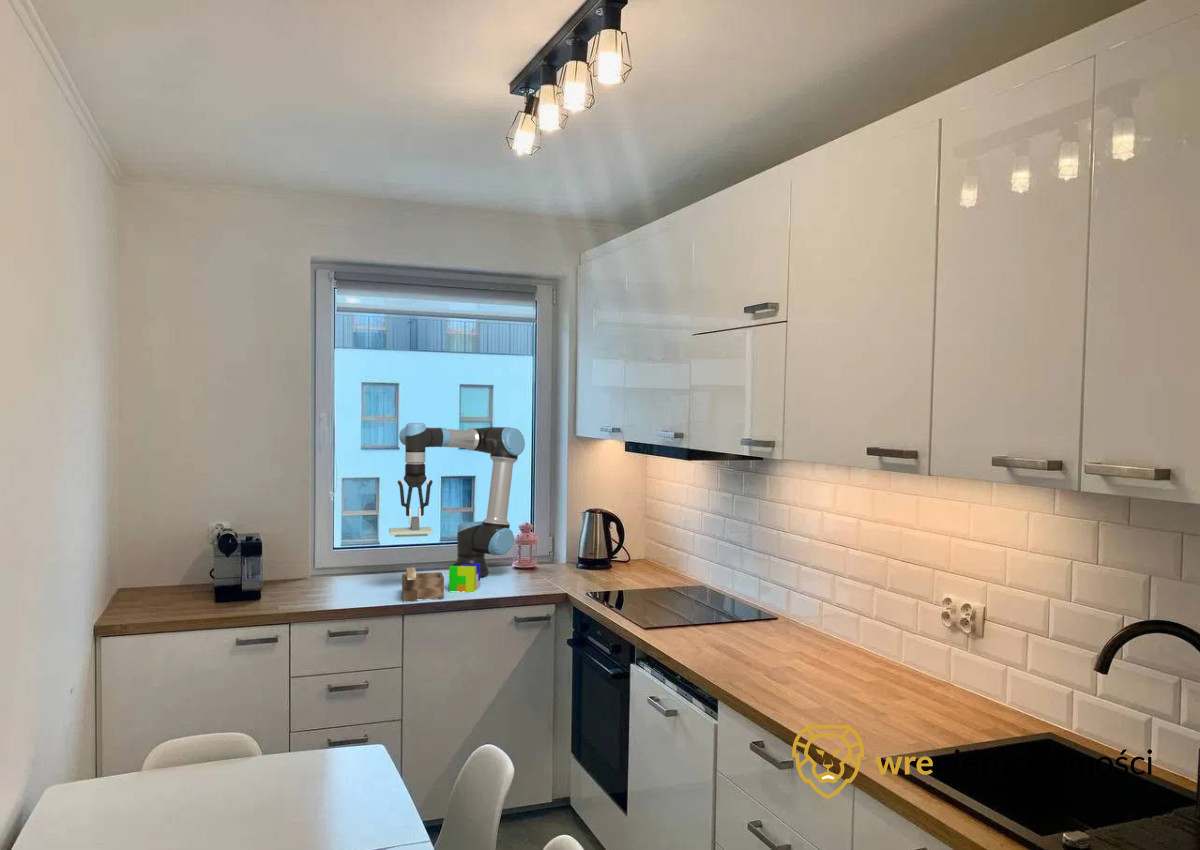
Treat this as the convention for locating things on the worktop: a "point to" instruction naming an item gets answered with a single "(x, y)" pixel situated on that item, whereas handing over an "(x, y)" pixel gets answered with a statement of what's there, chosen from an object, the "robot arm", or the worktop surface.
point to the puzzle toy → (464, 577)
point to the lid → (411, 530)
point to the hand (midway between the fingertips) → (414, 524)
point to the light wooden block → (411, 573)
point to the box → (423, 586)
